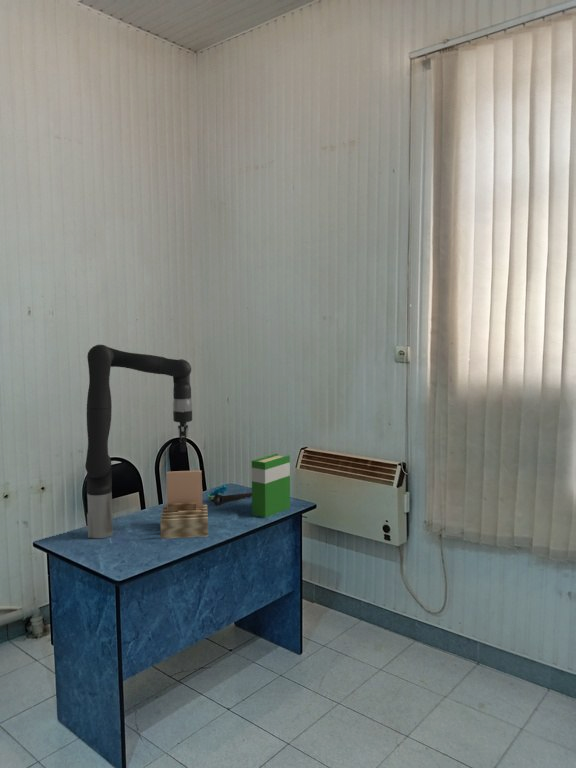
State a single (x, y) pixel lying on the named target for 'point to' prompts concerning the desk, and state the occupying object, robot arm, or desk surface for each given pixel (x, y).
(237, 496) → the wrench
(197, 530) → the rack
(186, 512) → the offcut short
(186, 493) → the tall sheet
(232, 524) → the desk surface
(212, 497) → the gear
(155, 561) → the desk surface
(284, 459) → the hardback book
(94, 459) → the robot arm
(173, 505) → the offcut tall
